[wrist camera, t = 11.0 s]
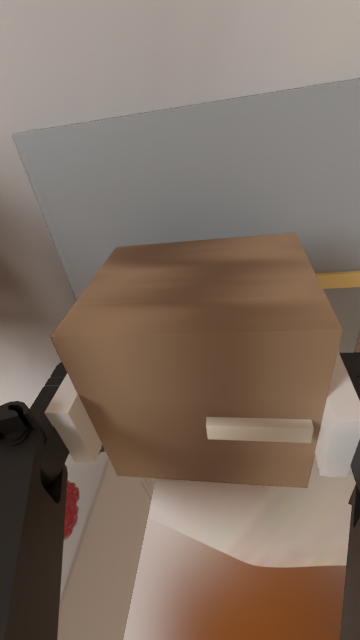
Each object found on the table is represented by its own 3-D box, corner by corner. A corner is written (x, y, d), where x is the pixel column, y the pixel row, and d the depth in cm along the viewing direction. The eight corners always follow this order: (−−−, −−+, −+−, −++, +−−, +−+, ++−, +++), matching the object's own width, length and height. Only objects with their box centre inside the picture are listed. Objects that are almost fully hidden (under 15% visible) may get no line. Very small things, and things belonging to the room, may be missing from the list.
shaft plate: (114, 374, 23) (90, 434, 19) (26, 131, 14) (-58, 146, 10) (338, 374, 20) (367, 445, 16) (412, 69, 11) (520, 55, 7)
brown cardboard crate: (148, 368, 17) (115, 483, 12) (116, 246, 13) (44, 344, 8) (283, 368, 16) (309, 496, 11) (295, 232, 12) (347, 338, 7)
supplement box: (129, 402, 25) (40, 678, 13) (161, 460, 30) (117, 700, 18) (37, 409, 28) (-109, 650, 16) (81, 462, 32) (-5, 676, 21)
